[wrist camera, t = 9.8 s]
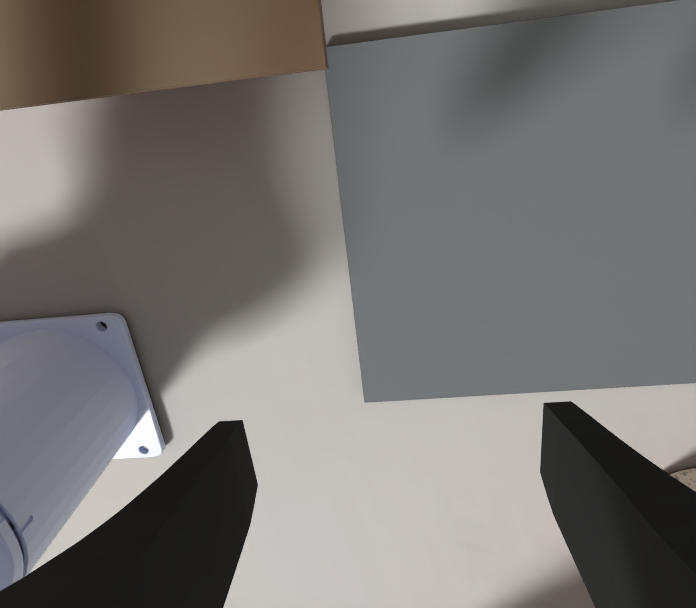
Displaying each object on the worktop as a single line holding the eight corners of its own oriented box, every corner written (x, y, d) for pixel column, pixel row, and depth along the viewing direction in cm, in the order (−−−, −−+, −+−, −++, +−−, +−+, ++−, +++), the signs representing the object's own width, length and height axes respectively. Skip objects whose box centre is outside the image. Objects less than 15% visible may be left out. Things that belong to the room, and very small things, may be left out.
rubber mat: (364, 396, 24) (364, 402, 23) (324, 48, 18) (322, 47, 17) (695, 376, 22) (702, 382, 22) (769, -11, 16) (780, -14, 16)
